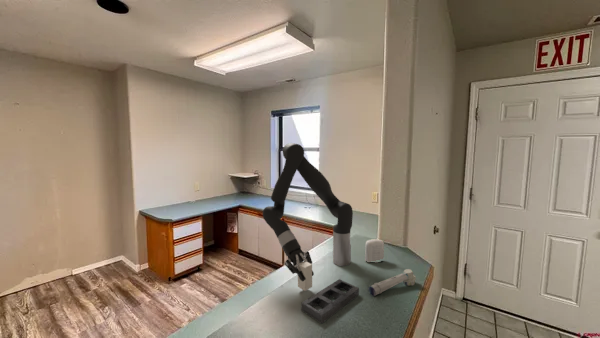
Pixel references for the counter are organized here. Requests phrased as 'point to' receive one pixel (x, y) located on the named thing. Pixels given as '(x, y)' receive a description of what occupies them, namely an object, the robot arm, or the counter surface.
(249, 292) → the counter surface
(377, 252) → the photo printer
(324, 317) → the grey holed base
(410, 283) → the grey knobbed rod
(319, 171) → the robot arm
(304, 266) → the peg
